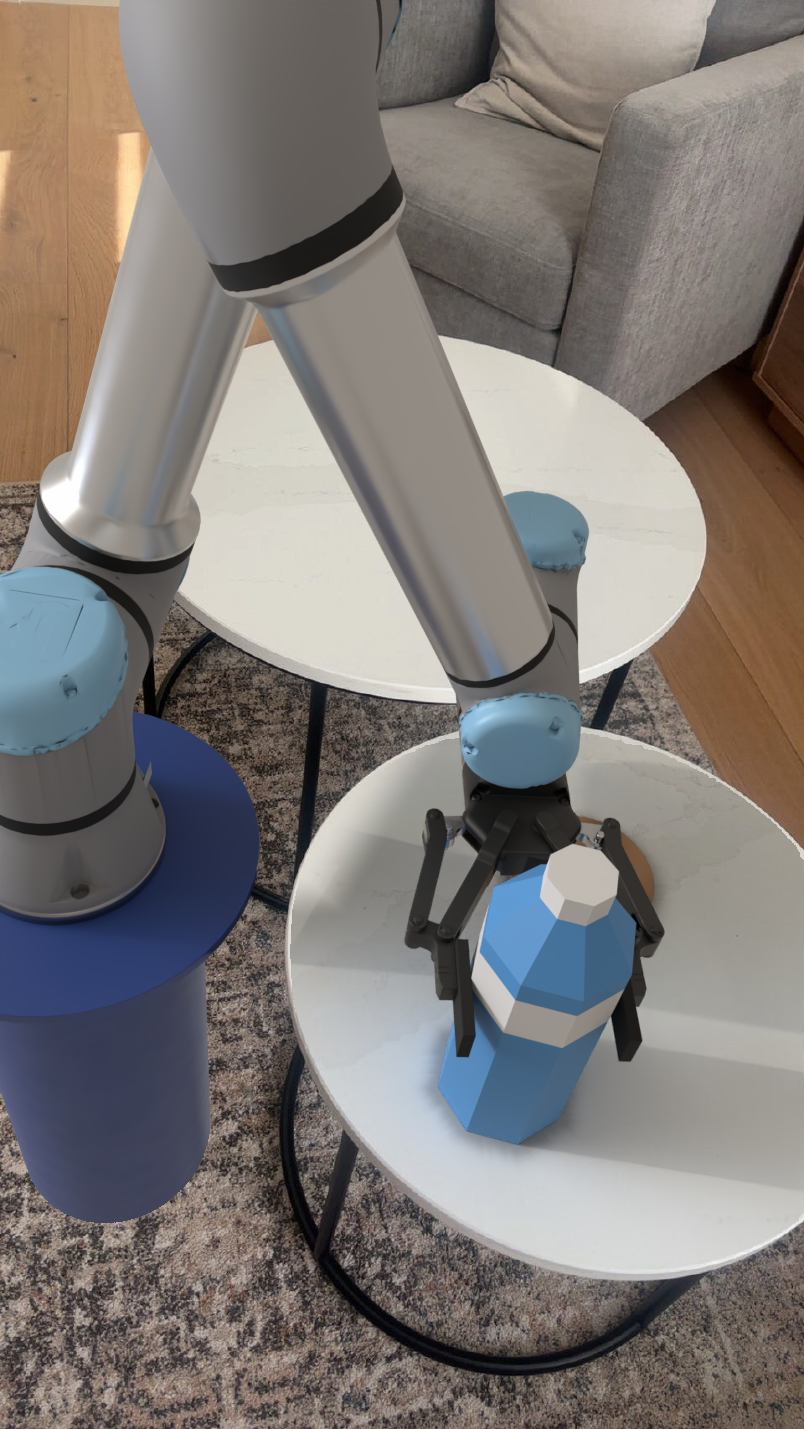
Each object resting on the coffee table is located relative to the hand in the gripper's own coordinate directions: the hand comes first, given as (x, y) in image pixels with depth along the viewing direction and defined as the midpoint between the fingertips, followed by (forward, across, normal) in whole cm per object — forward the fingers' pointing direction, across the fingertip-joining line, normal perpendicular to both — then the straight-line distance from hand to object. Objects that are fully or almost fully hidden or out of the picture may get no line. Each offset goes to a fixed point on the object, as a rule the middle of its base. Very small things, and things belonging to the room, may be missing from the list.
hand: (548, 1048), depth 65 cm
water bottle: (-4, 0, -14) cm, 14 cm away
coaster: (-22, -8, -14) cm, 27 cm away
